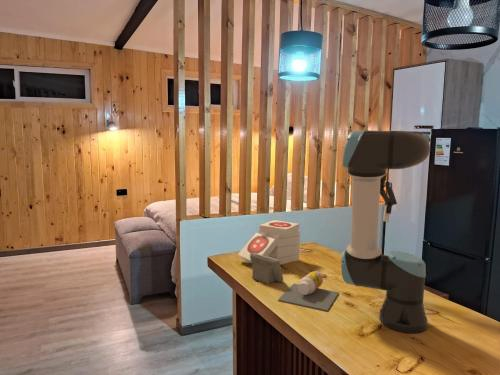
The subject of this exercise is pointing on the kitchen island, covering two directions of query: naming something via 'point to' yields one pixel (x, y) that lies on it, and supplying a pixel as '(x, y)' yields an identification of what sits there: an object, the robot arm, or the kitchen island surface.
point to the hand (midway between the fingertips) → (371, 220)
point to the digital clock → (266, 268)
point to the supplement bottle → (310, 283)
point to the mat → (310, 298)
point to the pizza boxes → (274, 242)
